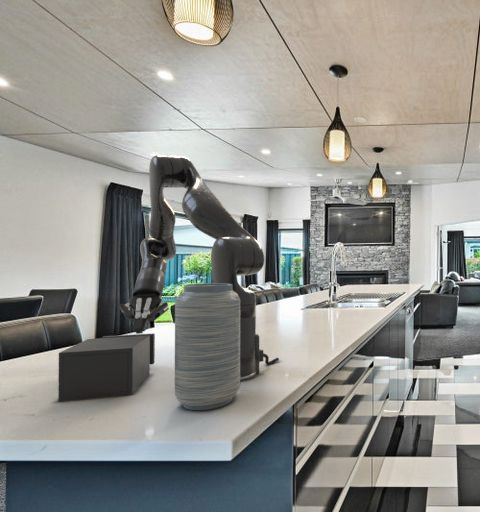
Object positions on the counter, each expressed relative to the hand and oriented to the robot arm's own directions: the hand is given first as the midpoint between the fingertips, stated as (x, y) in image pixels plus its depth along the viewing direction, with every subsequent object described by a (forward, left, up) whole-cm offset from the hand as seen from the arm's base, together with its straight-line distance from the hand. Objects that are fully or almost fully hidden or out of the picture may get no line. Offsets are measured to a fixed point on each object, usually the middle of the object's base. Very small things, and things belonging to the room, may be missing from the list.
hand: (138, 331), depth 108 cm
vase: (+2, +47, -8) cm, 48 cm away
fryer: (+12, +21, -8) cm, 25 cm away
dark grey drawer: (+7, +11, -7) cm, 15 cm away
